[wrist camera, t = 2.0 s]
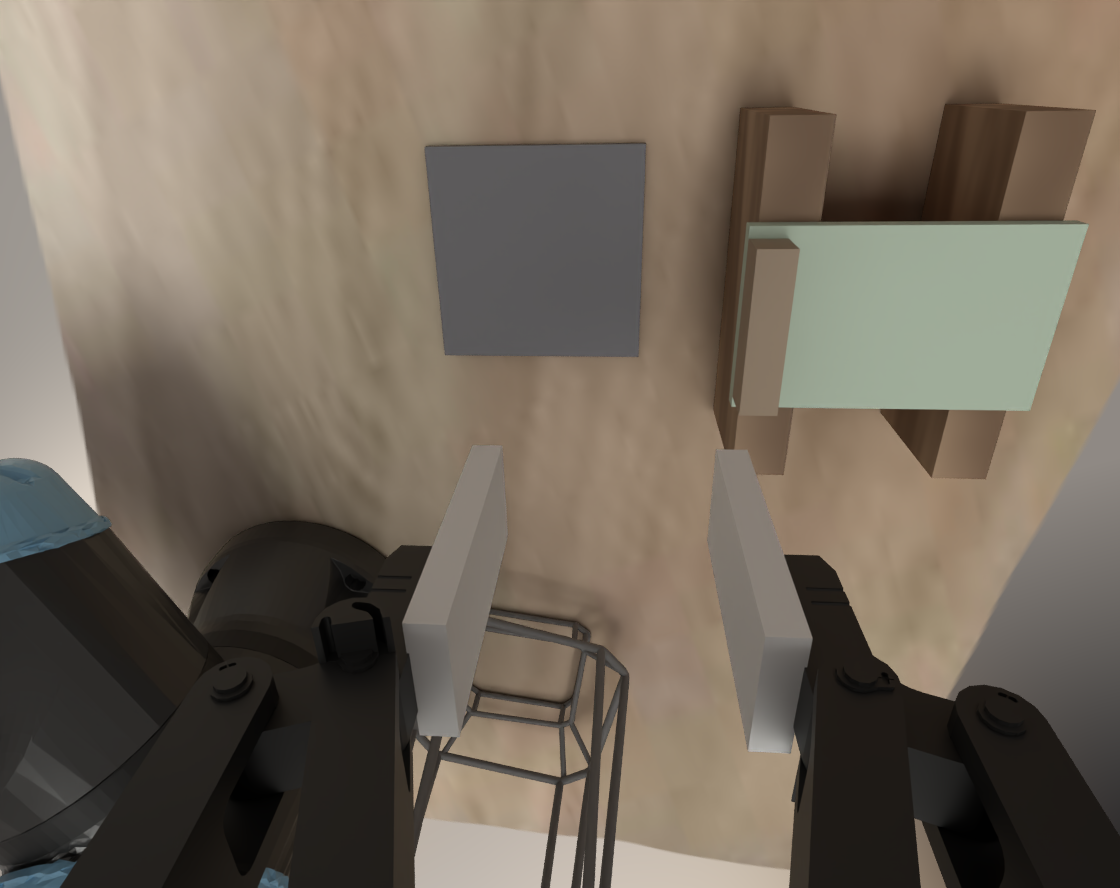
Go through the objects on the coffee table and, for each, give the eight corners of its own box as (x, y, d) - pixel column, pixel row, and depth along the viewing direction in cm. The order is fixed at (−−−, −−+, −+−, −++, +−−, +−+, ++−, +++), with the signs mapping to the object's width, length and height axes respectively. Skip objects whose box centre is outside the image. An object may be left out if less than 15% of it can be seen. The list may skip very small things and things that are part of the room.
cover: (728, 399, 33) (737, 425, 30) (746, 222, 29) (758, 236, 27) (1020, 403, 32) (1054, 430, 29) (1077, 220, 28) (1121, 234, 26)
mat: (447, 351, 41) (445, 355, 40) (427, 146, 36) (424, 147, 35) (638, 353, 40) (638, 356, 40) (645, 143, 35) (645, 144, 34)
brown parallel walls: (713, 410, 41) (731, 473, 35) (740, 108, 34) (770, 115, 27) (925, 413, 40) (985, 479, 34) (1000, 103, 33) (1096, 110, 26)
